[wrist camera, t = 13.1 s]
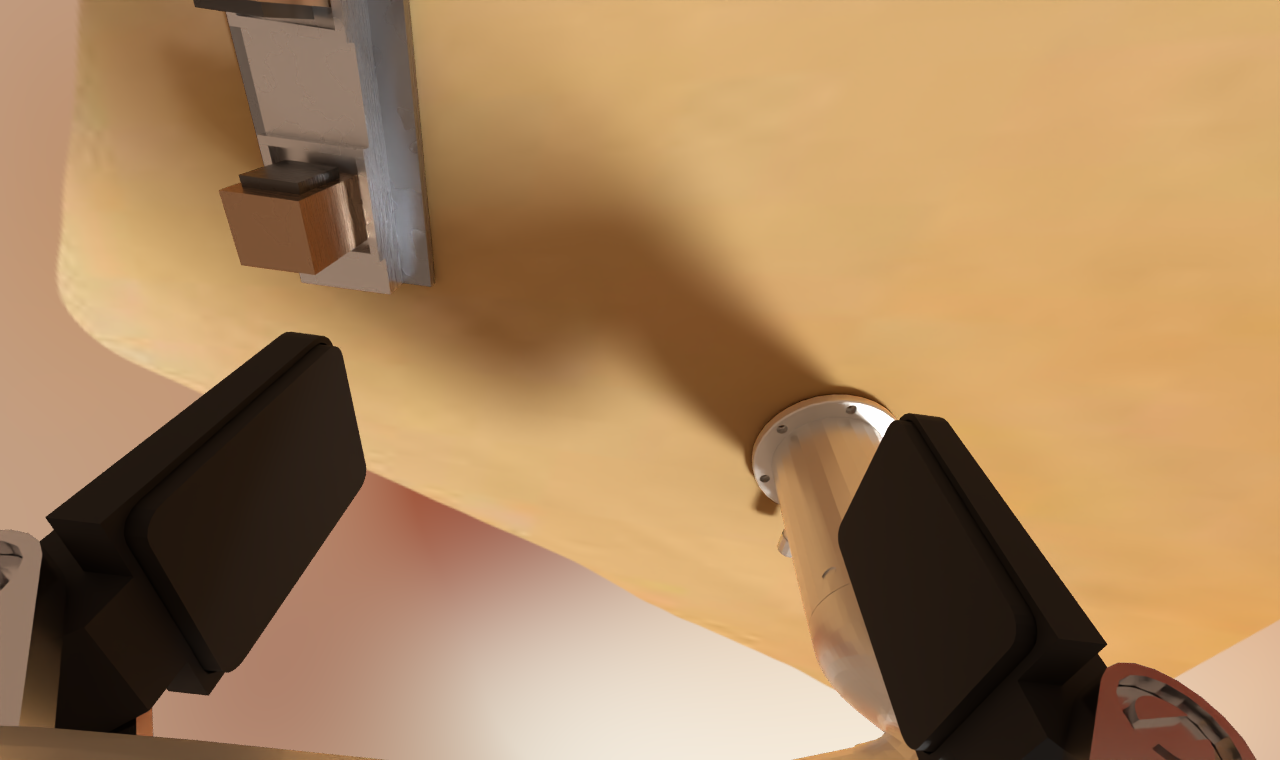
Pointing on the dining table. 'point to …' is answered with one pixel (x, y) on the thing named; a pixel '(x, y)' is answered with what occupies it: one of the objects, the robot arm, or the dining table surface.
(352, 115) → the rail
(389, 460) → the dining table surface
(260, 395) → the robot arm
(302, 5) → the brown rectangular block
